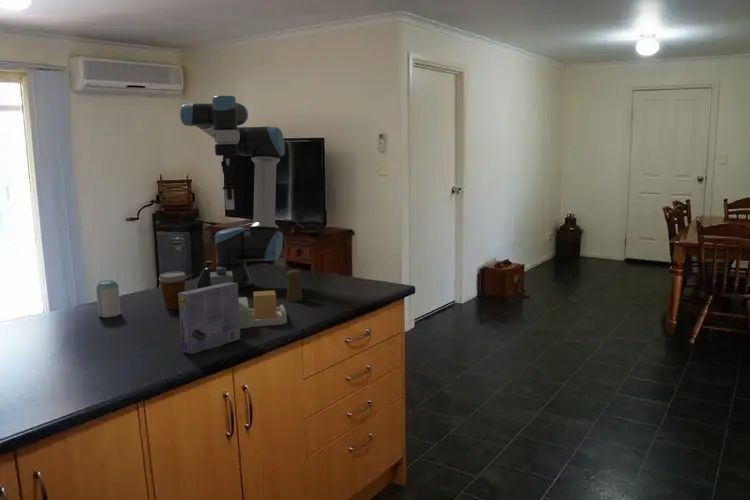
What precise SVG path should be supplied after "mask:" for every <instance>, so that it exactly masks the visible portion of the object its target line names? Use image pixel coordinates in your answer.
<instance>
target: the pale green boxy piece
mask: <svg viewBox="0 0 750 500" xmlns="http://www.w3.org/2000/svg"><path fill="white" fill-rule="evenodd" d="M215 269H216V272H210V282H211V286H214V285H219V284H224V283H228V282H230V283H233V276H232V271H226V268H225V267H218V268H217V267H216V268H215ZM238 299H239V300H238V301H239V319H240V330H242V329H250V328H251V327H252V328H254V327H266V326H267V327H268V326H279V325H285V324H288V318H287V317H288V316H287V312H286V309H285V307H284V304H279V306H276V308H277V318H269V319H257V320H255V315H254V308H250V307H249V302H248V301H249V300H248V298H247V296H245V297H238Z"/></svg>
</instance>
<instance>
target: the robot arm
mask: <svg viewBox="0 0 750 500" xmlns="http://www.w3.org/2000/svg"><path fill="white" fill-rule="evenodd" d="M179 115H180V116H179V117H180V121H181V122H182V125H184V126H187V127H197V128H198V129H200V130H201V131H203V132H204V133H206V134H207V136H210V137H211V138H212V139H214V142H215V143H216V144H215V145H214V151H215V155H216V156H217V157H218V156H220V157H222V156H223V157H222V161H221V162H220V163H221V168H222V173H223V178H224V181H223V185H224V186H222V190H223V191H224V202H225V203H224V205H225V210H226V211H227V210H229V211H231V210H235V194H234V186H235V182H234V181H233V179H234V178H233V173H234V167H235V164H234V160H233V159H232V156H242V157H250V160H251V161H252V162H253V163H254V179H253V180H254V182H253V183H254V184H253V187H254V188H253V222H252V224H250V225H249V228H248V229H249V231H246V229H245V227H242V226H241V227H231V228H226V229H222V230H219V231H217V232H216V233H215V235H214V236H215V237H214V239H215V240H214V245H215V262H216V268H218V267H225V268H226V271H232V276H233V283H237V284H238V290H239V289H243V288H247V287H250V286H251V285H252V278H251V275H250V273H249V269H248V268H247V261H264V262H265V261H266V262H268V261H276V260H278V259H279V257H280V256H281V254H282V250H283V246H284V245H283V244H284V238H283V237H284V235H283V232H282V231H279V226H278V225H277V224H276V190H277V188H276V187H277V185H276V184H277V183H276V182H277V164H279V162H281V157H283V156H284V155H285V152H286V147H285V145H286V144H285V139H284V135H283V132H282V130H281V129H280V128H279V127H277V126H242V125H244V124H245V123H246V122H247V121H248V118H249V112H248V109H247V107H246V106H244V105H243V104H241V103H239V102H237V100H236V97H235V96H234V95H214V96H213V97H212V103H193V102H191V103H185V104H183V105H182V106H181V108H180V113H179Z"/></svg>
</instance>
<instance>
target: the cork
mask: <svg viewBox="0 0 750 500" xmlns="http://www.w3.org/2000/svg"><path fill="white" fill-rule="evenodd" d="M301 275H302V273H301V271H300V270H298V269H297V270H296V269H292V270H288V271H287V273H286V277H287V280H288V282H287V289H286V290H287V292H286V293H287V294H286V301H287V300H288V302H300V301H299V300H301V301H303V300H304V299H303V292H302V286H301V281H300V279H301V278H302V277H301Z"/></svg>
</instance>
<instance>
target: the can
mask: <svg viewBox="0 0 750 500" xmlns="http://www.w3.org/2000/svg"><path fill="white" fill-rule="evenodd" d="M95 290H96V301H97V312H98V313H97V314H98V316H99V317H100V318H102V317H103V319H112V318H111V317H113V318H116V317H119V315H120V314H121V312H122V311H121V310H122V309H121V299H120V290H119V284H118V282H117V280H113V279H106V280H100V281H98V282H97V285H96V288H95Z"/></svg>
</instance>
